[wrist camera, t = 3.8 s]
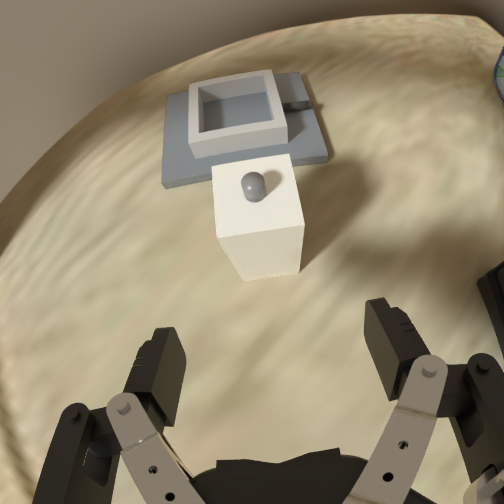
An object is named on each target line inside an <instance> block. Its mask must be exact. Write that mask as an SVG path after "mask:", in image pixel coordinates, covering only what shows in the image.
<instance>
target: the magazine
mask: <svg viewBox="0 0 504 504" xmlns="http://www.w3.org/2000/svg"><path fill="white" fill-rule="evenodd" d="M477 285H478V287H479V290H480V292H481V295H482V297H483V300H484V302H485V305H486V307H487V310H488V313H489V315H490V318H491V321H492V324H493V326H494V329H495V332H496V335H497V338H498V341H499V345H500V348H501V351H502V354H503V358H504V261H503V262H502V263H500V264H499V265H498V266H496V267H495V268H493V269H492V270H491V271H489V272H488V273H487V274H486V275H484V276H483V277H481V278H480V279H479V280H478V281H477Z"/></svg>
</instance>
